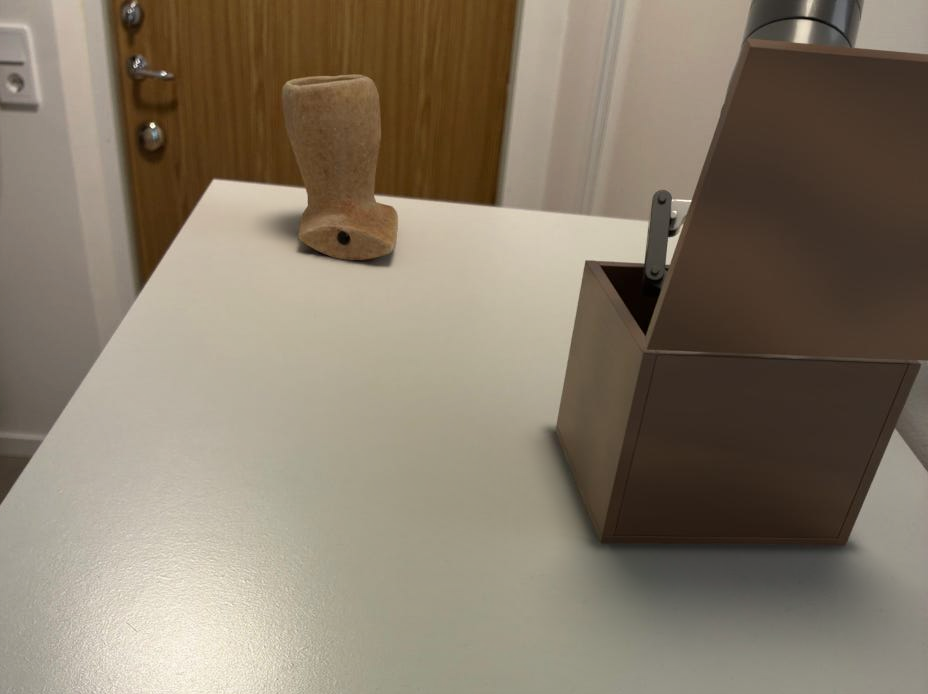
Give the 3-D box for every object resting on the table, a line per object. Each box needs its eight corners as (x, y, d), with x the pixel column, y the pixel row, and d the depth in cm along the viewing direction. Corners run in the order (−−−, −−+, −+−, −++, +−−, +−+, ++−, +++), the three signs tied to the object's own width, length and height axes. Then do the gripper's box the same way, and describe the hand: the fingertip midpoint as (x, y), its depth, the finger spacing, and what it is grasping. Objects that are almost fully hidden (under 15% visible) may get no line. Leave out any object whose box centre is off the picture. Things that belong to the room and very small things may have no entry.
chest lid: (745, 37, 41) (750, 46, 41) (1100, 68, 43) (1108, 77, 43) (643, 340, 54) (646, 350, 53) (922, 352, 56) (928, 361, 56)
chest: (554, 434, 73) (585, 259, 65) (765, 439, 75) (820, 272, 67) (599, 546, 62) (643, 353, 54) (844, 548, 64) (922, 364, 56)
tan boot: (293, 211, 107) (291, 54, 98) (401, 222, 108) (410, 67, 98) (270, 259, 96) (266, 85, 86) (392, 270, 96) (401, 99, 87)
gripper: (675, 67, 60) (615, 325, 59) (917, 103, 58) (860, 370, 57) (661, 141, 67) (608, 372, 66) (875, 175, 66) (825, 413, 64)
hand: (725, 370), depth 61 cm, fingers closed on pill bottle, 6 cm apart
